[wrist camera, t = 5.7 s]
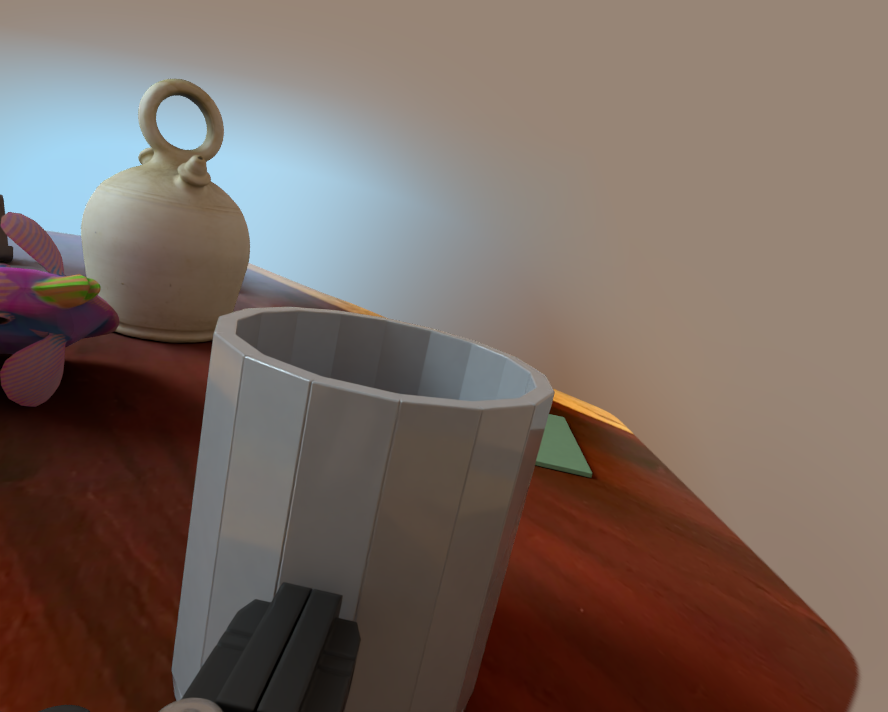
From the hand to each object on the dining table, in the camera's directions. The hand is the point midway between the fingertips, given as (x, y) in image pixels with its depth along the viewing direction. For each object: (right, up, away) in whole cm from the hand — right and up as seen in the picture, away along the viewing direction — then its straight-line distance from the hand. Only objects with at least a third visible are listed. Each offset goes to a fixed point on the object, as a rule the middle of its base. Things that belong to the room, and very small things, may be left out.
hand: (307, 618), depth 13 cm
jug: (-27, +9, +45) cm, 53 cm away
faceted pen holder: (-1, -5, +7) cm, 9 cm away
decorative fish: (-27, +5, +23) cm, 36 cm away
